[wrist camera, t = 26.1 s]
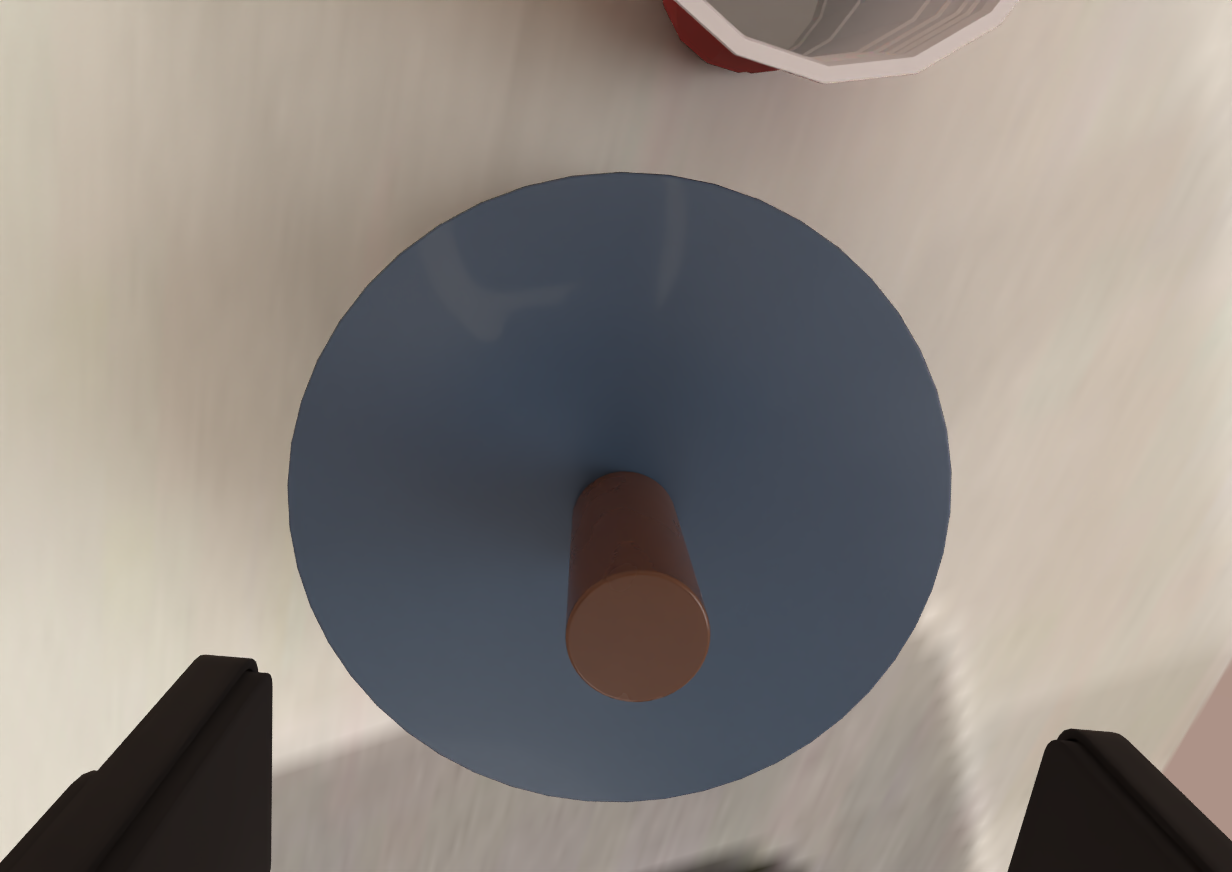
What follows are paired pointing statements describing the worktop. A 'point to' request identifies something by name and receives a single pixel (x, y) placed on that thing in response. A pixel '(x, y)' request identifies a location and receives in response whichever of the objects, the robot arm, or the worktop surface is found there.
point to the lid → (619, 487)
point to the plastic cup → (832, 34)
